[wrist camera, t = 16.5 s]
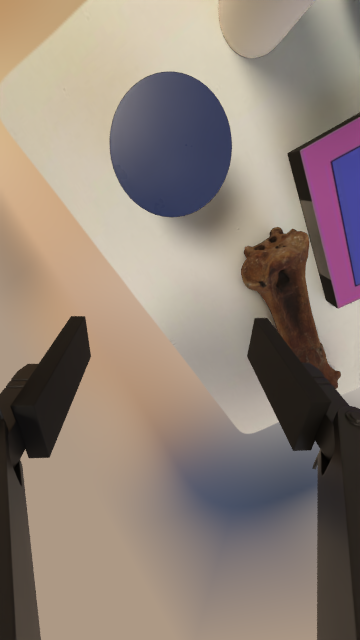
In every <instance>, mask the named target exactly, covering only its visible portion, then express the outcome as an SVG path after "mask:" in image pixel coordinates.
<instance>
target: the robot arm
mask: <svg viewBox="0 0 360 640" xmlns="http://www.w3.org/2000/svg"><path fill="white" fill-rule="evenodd" d="M90 357H91V354H90V347H89V341H88V333H87V326H86V320H85V317H82V316H78V317H77V316H71V317H70V319H69V320H68V322H67V323H66V325H65V326H64V328H63V329H62V331H61V332H60V333H59V335H58V336H57V338H56V340H55V341H54V342H53V344H52V345H51V347H50V348H49V350H48V351H47V353H46V354H45V356H44V357H43V358H42V360H41V362H40V363H39V364H27V365H26V366H24V367H23V368H22V369H20V370H19V371H18V372H17V373H16V374H15V375H14V377H13V378H12V380H11V381H10V382H9V383H8V385H7V386H6V388H5V389H4V390H3V391H2V392H1V394H0V640H41V637H40V628H39V619H38V609H37V600H36V590H35V581H34V573H33V562H32V553H31V544H30V534H29V526H28V515H27V507H26V497H25V487H24V478H23V468H22V464H21V461H20V458H21V456H22V454H23V452H24V450H25V449H26V451H27V454H28V457H29V458H48V457H50V455H51V452H52V450H53V447H54V445H55V443H56V440H57V437H58V435H59V433H60V430H61V428H62V425H63V423H64V421H65V418H66V416H67V413H68V411H69V408H70V406H71V403H72V401H73V399H74V396H75V394H76V391H77V389H78V386H79V384H80V382H81V379H82V377H83V374H84V372H85V369H86V367H87V365H88V362H89V360H90ZM247 357H248V359H249V361H250V363H251V365H252V367H253V369H254V371H255V373H256V375H257V377H258V380H259V382H260V384H261V386H262V388H263V390H264V392H265V394H266V396H267V398H268V400H269V402H270V404H271V406H272V408H273V410H274V412H275V414H276V416H277V418H278V420H279V423H280V425H281V426H282V429H283V431H284V433H285V435H286V437H287V439H288V441H289V443H290V445H291V447H292V449H293V451H297V450H311V449H312V446H313V444H314V442H315V441H316V442H317V444H318V445H319V447H320V451H319V453H318V455H317V458H316V460H315V462H314V465H313V469H316V467H317V465H318V544H317V545H318V547H317V550H318V551H317V552H318V553H317V555H318V556H317V559H318V560H317V563H318V564H317V568H318V569H317V575H318V576H317V580H318V582H317V602H318V603H317V640H360V409H358V408H356V407H352V406H349V405H348V404H347V402H346V401H345V400H344V399H343V398H342V396H341V395H340V394H339V393H338V392H337V390H336V389H335V388H334V387H333V386H332V384H330V382H329V381H328V380H327V378H325V376H324V375H323V374H322V372H321V371H320V370H319V369H318V368H316V367H315V366H313V365H312V364H311V363H302V362H301V361H300V360H299V359H298V357H297V356H296V355H295V353H294V352H293V351H292V350H291V348H290V347H289V346H288V344H287V343H286V342H285V340H284V339H283V338H282V337H281V335H280V334H279V333H278V331H277V330H276V329H275V328H274V326H273V325H272V324H271V322H270V321H269V320H268V319H267V318H255V320H254V325H253V330H252V335H251V340H250V345H249V350H248V355H247Z"/></svg>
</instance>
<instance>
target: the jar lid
mask: <svg viewBox="0 0 360 640" xmlns="http://www.w3.org/2000/svg"><path fill="white" fill-rule="evenodd" d="M231 152H232V140H231V132H230V126H229V123H228V119H227V116H226V114H225V111H224V109H223V107H222V105H221V104H220V102H219V100H218V99H217V98H216V96H215V95H214V94H213V92H212V91H211V90H210V89H209V88H208V87H207V86H206V85H204V84H203V83H202V82H200V81H199V80H197V79H195V78H193V77H192V76H189V75H186V74H183V73H178V72H160V73H155V74H153V75H150V76H147V77H146V78H144V79H142V80H140V81H139V82H138V83H136V84H135V85H134V86H133V87H132V88H131V89H130V90H129V91H128V92H127V93H126V94H125V96H124V97H123V99H122V100H121V102H120V104H119V106H118V108H117V110H116V112H115V115H114V118H113V121H112V126H111V131H110V154H111V160H112V164H113V169H114V171H115V174H116V176H117V178H118V180H119V183H120V184H121V186H122V188H123V189H124V191H125V192H126V193H127V194H128V196H129V197H130V199H132V200H133V201H134V202H135V203H136V204H138V205H139V206H140V207H142V208H143V209H145V210H147V211H148V212H151V213H153V214H155V215H159V216H164V217H180V216H185V215H188V214H191V213H193V212H195V211H198V210H199V209H201V208H202V207H204V206H205V205H206V204H207V203H208V202H210V201H211V200H212V198H213V197H214V196H215V195H216V194H217V192H218V191H219V189H220V188H221V186H222V184H223V182H224V180H225V178H226V175H227V173H228V169H229V166H230V160H231Z"/></svg>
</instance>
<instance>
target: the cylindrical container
mask: <svg viewBox="0 0 360 640" xmlns="http://www.w3.org/2000/svg"><path fill="white" fill-rule="evenodd" d="M314 1H315V0H219V21H220V26H221V30H222V32H223V35H224V38H225V39H226V41H227V43H228V45H229V46H230V47H231V48H232V49H233V50H234V51H235V52H236V53H238V54H239V55H241V56H243V57H246V58H258V57H261V56H264V55H266V54H268V53H269V52H270V51H272V50H273V49H274V48H275V47H276V46H277V45H278V44H279V43H280V41H281V40H282V39H283V38H284V37H285V36H286V34H287V33H288V32H289V31H290V30H291V28H292V27H293V26H294V25H295V24H296V23H297V21H298V20H299V19H300V18H301V17H302V15H303V14H304V13H305V12H306V11H307V9H308V8H309V7H310V6H311V5H312V4H313V2H314Z"/></svg>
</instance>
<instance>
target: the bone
mask: <svg viewBox="0 0 360 640" xmlns="http://www.w3.org/2000/svg"><path fill="white" fill-rule="evenodd" d="M308 250H309V237H308V235H307V234H306V233H304V232H302V231H296V230H295V229H292V230H291V231H289V232H288V233H287V234H283V231H282V229H281V228H279V227H276V228H273V229H272V230H271V232H270V238H268V239H267V240H266V241H263V242H262V243H260V244H258V245H256V246H254V247H250V246H247V247H245V250H244V254H245V256H246V258H247V259H246V261H245V262H244V264H243V266H242V269H241V275H242V278H243V282H244V284H245V286H246V287H247V288H249V289H251V290H255V291H257V292H258V293H259V294H260V295H261V296H262V298H263V299H264V300H265V302H266V304H267V305H268V307H269V308H270V311H271V313H272V316H273V319H274V321H275V324H276V327H277V330H278V332H279V334H280V335H281V337H282V338H283V339H284V340H285V342H286V343H287V344H288V346H289V347H290V348H291V350H292V351H293V352H294V353H295V355H296V356H297V357H298V359H299V360H300V361H301V362H302V363H311V364H312V365H313V366H315V367H316V368H318V369H319V370H320V371H321V372H322V374H323V375H324V376H325V378H327V380H328V381H329V382H330V384H332V386H333V387H334V388H335V389H336V388H337V387H338V383H337V381H338V379H339V378H340V376H341V373H340V372H339V371H335V370H334V369H332V368H331V367H330V366H329V364H328V362H327V359H326V354H325V351H324V349H323V346H322V344H321V343H320V341H319V338H318V334H317V330H316V326H315V323H314V319H313V316H312V312H311V307H310V302H309V297H308V291H307V285H306V279H305V266H306V261H307V258H308Z"/></svg>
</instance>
